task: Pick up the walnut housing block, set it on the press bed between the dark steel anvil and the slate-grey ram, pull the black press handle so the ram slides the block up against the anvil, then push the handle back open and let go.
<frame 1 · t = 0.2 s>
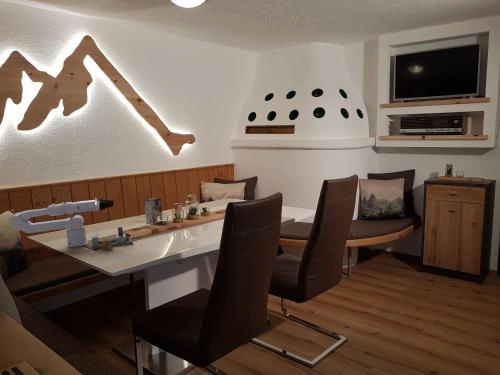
hand: (113, 203, 215), 21 cm above the table, tool horizontal, fingers open, 7 cm apart
press frame: (112, 244, 211), on the table
ram: (120, 235, 212), point 4 cm above the table, slide at 0.0 cm
coffee box: (154, 222, 260), on the table
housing: (107, 249, 201), on the table
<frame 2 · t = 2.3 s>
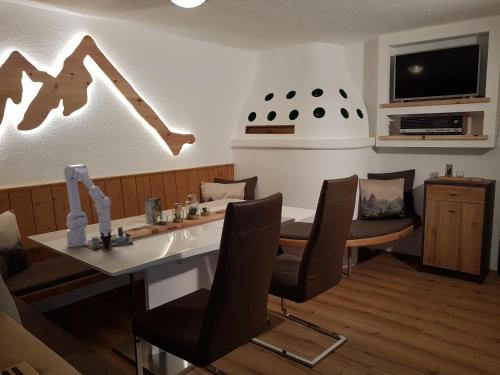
hand: (106, 246, 201), 1 cm above the table, tool pointing down, fingers open, 7 cm apart
nothing on the table moved.
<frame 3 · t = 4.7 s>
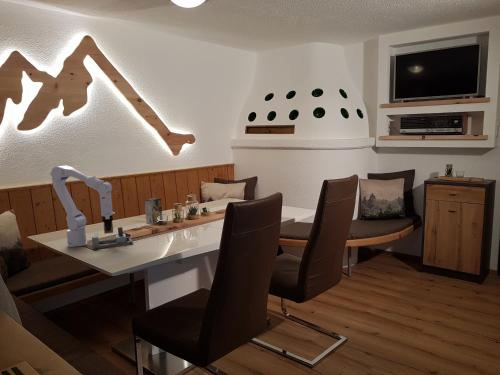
hand: (108, 229, 209), 8 cm above the table, tool pointing down, fingers closed on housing, 4 cm apart
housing: (108, 232, 209), point 7 cm above the table, touching gripper
everything else where it was.
when the fingers open (2 cm above the table, at t = 6.2 s): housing drops 1 cm, resting in press frame.
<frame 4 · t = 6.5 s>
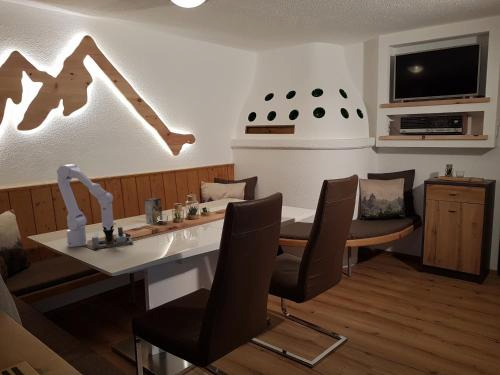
hand: (109, 240, 210), 2 cm above the table, tool pointing down, fingers open, 7 cm apart
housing: (109, 244, 210), resting in press frame
everything else where it was.
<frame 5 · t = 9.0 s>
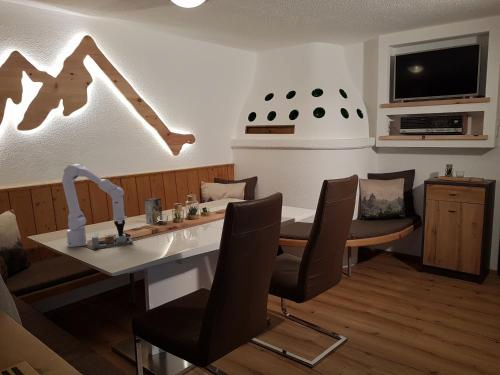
hand: (120, 233, 211), 5 cm above the table, tool pointing down, fingers closed on ram, 2 cm apart
ram: (120, 235, 212), point 4 cm above the table, slide at 0.0 cm, touching gripper
everything else where it was.
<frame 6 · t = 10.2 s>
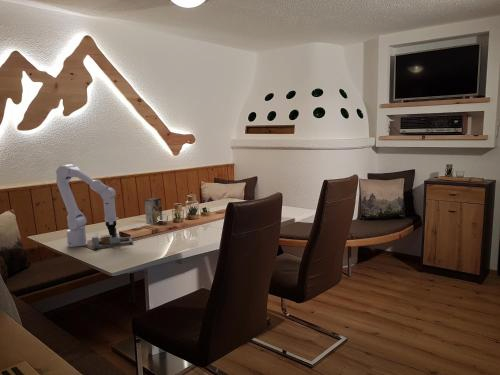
hand: (111, 235, 210), 5 cm above the table, tool pointing down, fingers closed on ram, 2 cm apart
ram: (114, 235, 210), point 4 cm above the table, slide at 3.3 cm, touching gripper
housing: (105, 245, 209), resting in press frame
everything else where it was.
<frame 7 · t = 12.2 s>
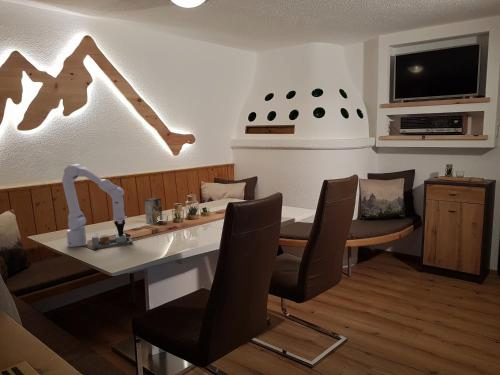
hand: (120, 233, 211), 5 cm above the table, tool pointing down, fingers closed on ram, 2 cm apart
ram: (120, 235, 212), point 4 cm above the table, slide at 0.0 cm, touching gripper
everything else where it was.
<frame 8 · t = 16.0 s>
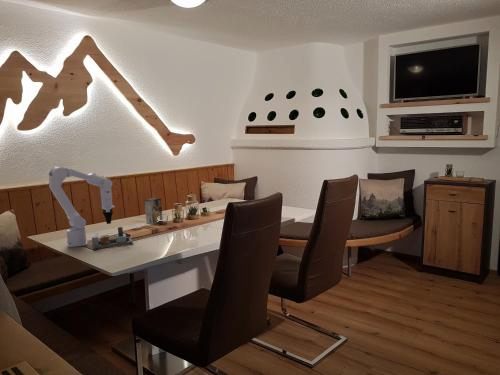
hand: (108, 222, 222), 9 cm above the table, tool pointing down, fingers open, 7 cm apart
ram: (120, 235, 212), point 4 cm above the table, slide at 0.0 cm
everything else where it was.
at the end: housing 0.7 cm from the target spot on the press frame, point 0.0 cm above the press frame's base; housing tilted 0°; ram slide at 0.0 cm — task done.
